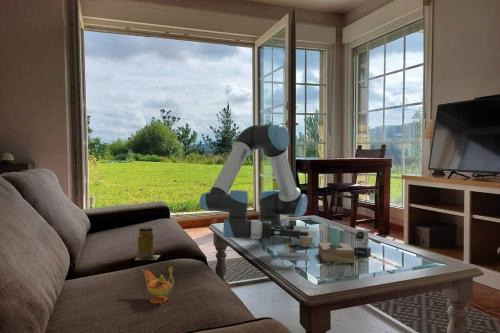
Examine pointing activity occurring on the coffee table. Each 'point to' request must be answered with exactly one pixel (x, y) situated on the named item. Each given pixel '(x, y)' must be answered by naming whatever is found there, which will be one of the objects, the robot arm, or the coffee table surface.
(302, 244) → the ceramic mug
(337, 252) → the socket block
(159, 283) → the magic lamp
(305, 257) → the mat
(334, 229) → the dowel
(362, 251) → the watch
